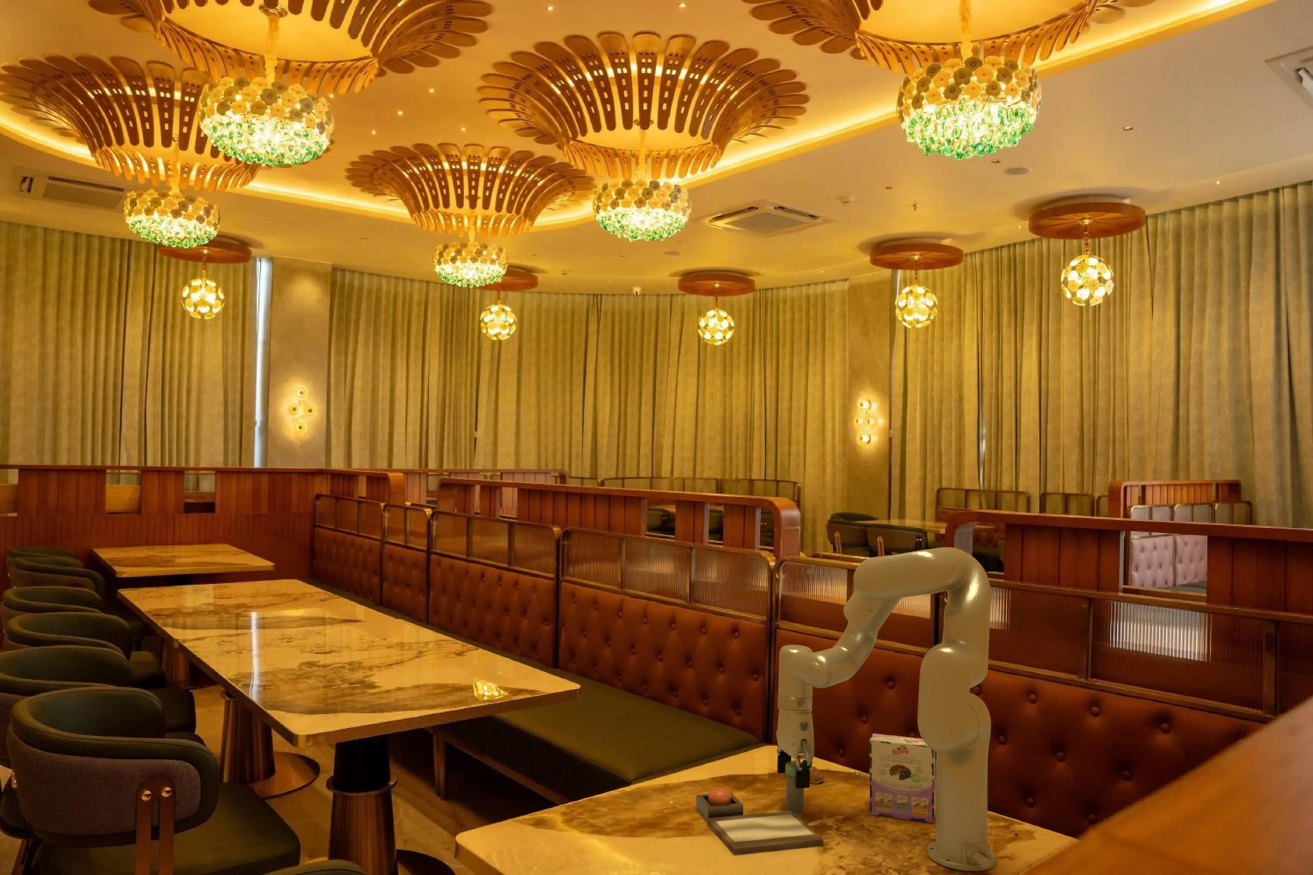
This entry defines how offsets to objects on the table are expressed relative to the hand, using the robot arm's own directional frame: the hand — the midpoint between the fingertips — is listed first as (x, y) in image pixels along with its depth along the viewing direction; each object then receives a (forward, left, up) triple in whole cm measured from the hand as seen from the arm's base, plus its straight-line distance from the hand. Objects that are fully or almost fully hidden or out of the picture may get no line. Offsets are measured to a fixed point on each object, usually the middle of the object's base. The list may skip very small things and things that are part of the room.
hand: (793, 779), depth 199 cm
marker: (0, 0, -7) cm, 7 cm away
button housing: (+2, +17, -7) cm, 18 cm away
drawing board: (-11, +12, -7) cm, 18 cm away
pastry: (+19, -12, -7) cm, 23 cm away
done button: (+2, +17, -4) cm, 17 cm away
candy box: (-8, -22, -7) cm, 25 cm away
